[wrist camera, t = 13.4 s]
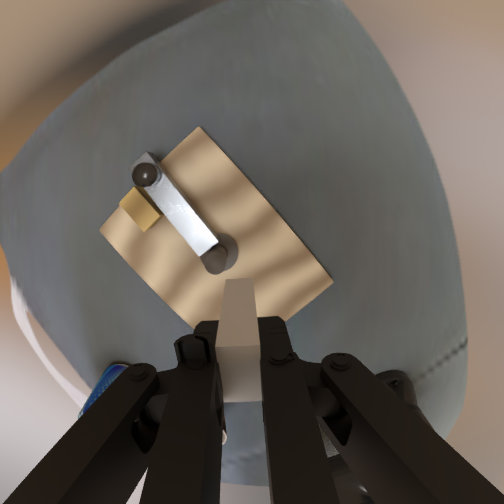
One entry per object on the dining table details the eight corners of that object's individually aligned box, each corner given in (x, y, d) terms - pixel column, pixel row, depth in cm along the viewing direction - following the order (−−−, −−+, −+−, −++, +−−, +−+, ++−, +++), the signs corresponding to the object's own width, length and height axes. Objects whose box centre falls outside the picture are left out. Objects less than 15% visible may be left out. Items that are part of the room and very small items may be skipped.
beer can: (155, 377, 43) (129, 444, 28) (139, 400, 45) (115, 461, 29) (114, 352, 42) (76, 413, 26) (102, 377, 43) (69, 434, 28)
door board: (331, 279, 39) (348, 298, 32) (230, 356, 42) (229, 385, 35) (200, 127, 33) (190, 116, 27) (102, 228, 36) (78, 238, 29)
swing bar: (220, 237, 35) (216, 245, 31) (202, 251, 35) (196, 261, 31) (152, 153, 32) (140, 149, 27) (135, 168, 32) (121, 167, 28)
